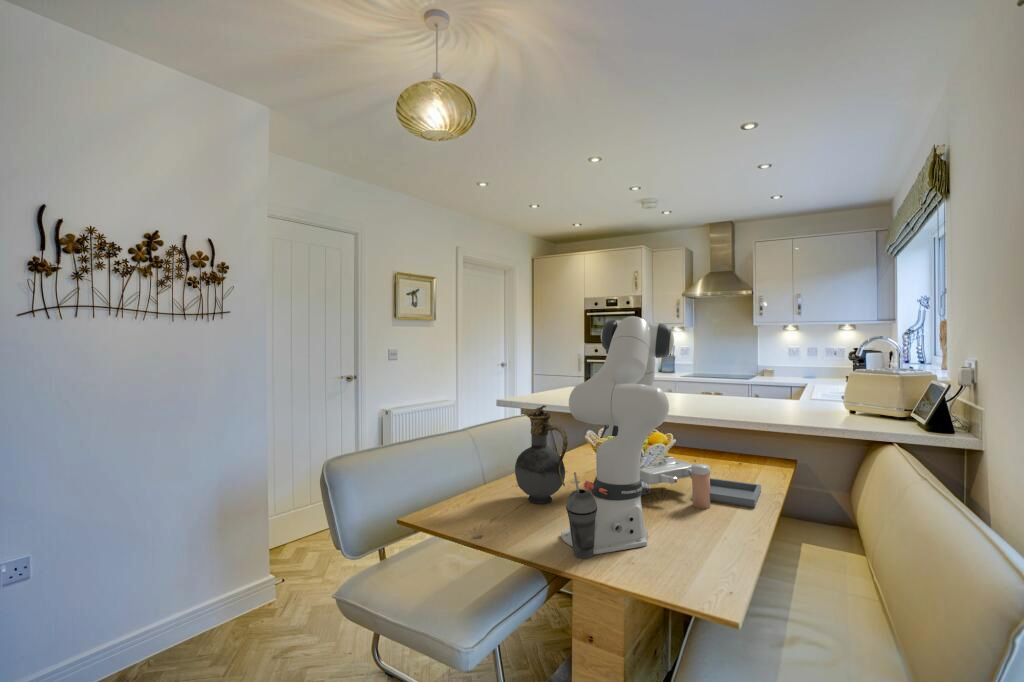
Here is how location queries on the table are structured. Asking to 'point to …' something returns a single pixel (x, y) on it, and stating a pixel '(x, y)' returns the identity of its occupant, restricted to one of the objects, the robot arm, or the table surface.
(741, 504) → the tray
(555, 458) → the pitcher
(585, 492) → the beverage cup
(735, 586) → the table surface
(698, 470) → the shaker
